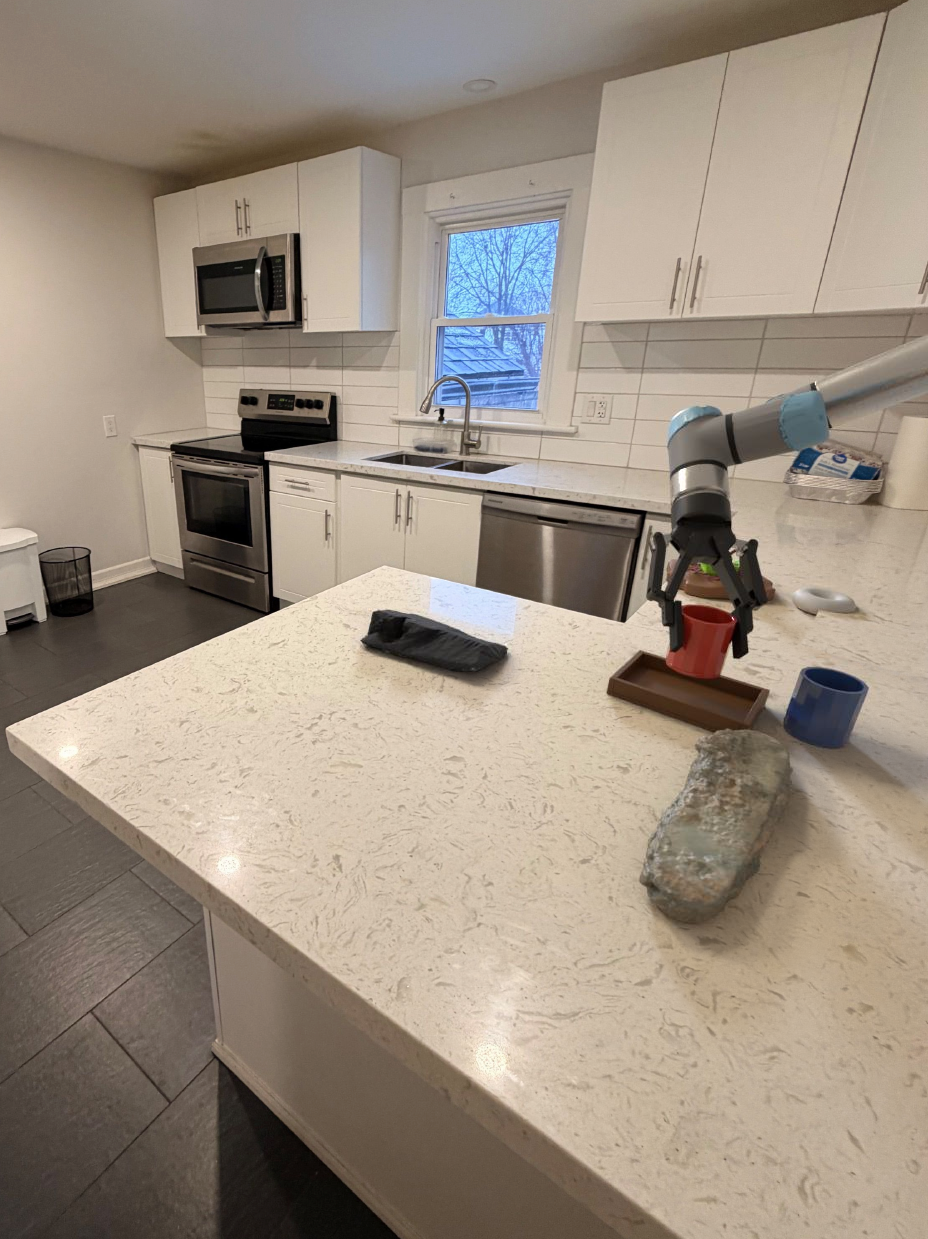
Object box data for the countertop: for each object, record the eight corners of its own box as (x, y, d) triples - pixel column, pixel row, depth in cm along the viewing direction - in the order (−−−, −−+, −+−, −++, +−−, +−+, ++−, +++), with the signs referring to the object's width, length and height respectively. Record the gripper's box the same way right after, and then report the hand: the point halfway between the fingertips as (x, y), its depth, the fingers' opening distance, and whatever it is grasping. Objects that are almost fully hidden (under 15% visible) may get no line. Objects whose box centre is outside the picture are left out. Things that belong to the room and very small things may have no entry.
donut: (785, 610, 124) (849, 624, 118) (790, 594, 123) (855, 607, 116) (794, 597, 131) (855, 609, 124) (799, 581, 129) (861, 593, 123)
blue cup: (850, 732, 84) (871, 679, 81) (843, 755, 80) (865, 699, 77) (787, 712, 89) (805, 661, 86) (777, 733, 84) (796, 679, 81)
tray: (764, 705, 90) (770, 689, 89) (744, 742, 82) (749, 725, 81) (636, 664, 101) (639, 649, 100) (606, 693, 93) (609, 677, 92)
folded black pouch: (470, 688, 93) (474, 659, 91) (351, 643, 106) (352, 617, 104) (515, 653, 104) (519, 626, 102) (402, 616, 117) (404, 592, 115)
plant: (749, 573, 143) (763, 525, 139) (785, 605, 126) (803, 551, 121) (653, 565, 147) (664, 517, 143) (675, 595, 130) (688, 542, 125)
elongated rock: (605, 897, 60) (722, 967, 54) (618, 857, 58) (741, 926, 52) (711, 730, 83) (801, 766, 77) (723, 697, 81) (817, 731, 75)
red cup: (727, 666, 90) (742, 614, 87) (713, 684, 85) (729, 629, 82) (673, 650, 94) (686, 600, 91) (658, 666, 89) (671, 614, 86)
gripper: (762, 522, 95) (777, 669, 86) (619, 512, 98) (620, 652, 90) (789, 494, 88) (808, 651, 80) (634, 485, 92) (636, 634, 83)
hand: (708, 652), depth 85 cm, fingers closed on red cup, 7 cm apart
